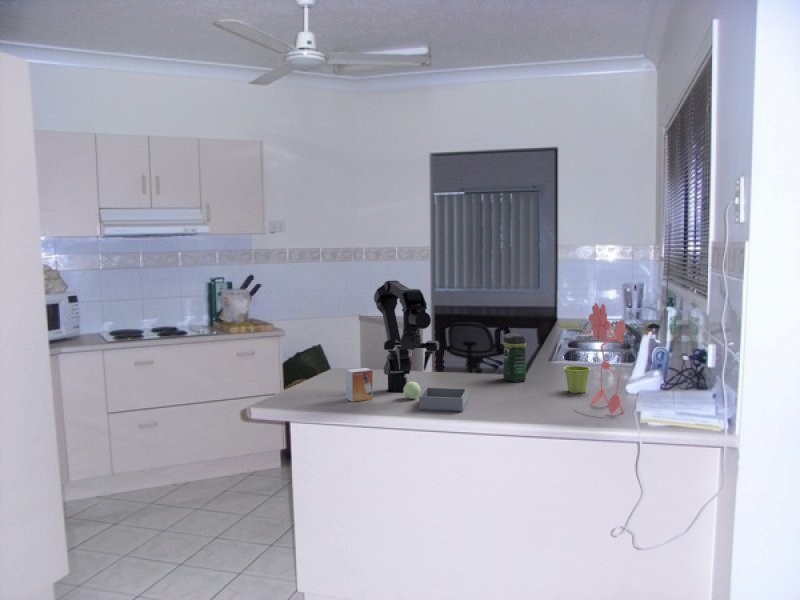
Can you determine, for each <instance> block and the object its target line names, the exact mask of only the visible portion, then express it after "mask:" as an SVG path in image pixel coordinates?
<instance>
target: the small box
mask: <svg viewBox="0 0 800 600" xmlns="http://www.w3.org/2000/svg"><path fill="white" fill-rule="evenodd" d="M373 377H374V375H373V369H369V368H367V367H364V368H355V369H345V386H346V387H345V398H346V400H348V401H350V402H352V403H353V402H361V401H372V400H373V399H374V398H373V397H374V396H373V394H374V393H373V392H374V390H373V388H374V387H373V386H374V385H373V383H374V382H373Z"/></svg>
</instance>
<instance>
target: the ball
mask: <svg viewBox="0 0 800 600" xmlns="http://www.w3.org/2000/svg"><path fill="white" fill-rule="evenodd" d="M403 391H404V392H403V394H404V396H405V397H406V398H408V399H410V400H414V399H417V398H419V396H420V395H421V392H422V391H421V386H420V385H419V383H418V382H416V381H409V382H408V381H407V384H406V385H405V386H404V390H403Z"/></svg>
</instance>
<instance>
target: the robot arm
mask: <svg viewBox="0 0 800 600" xmlns="http://www.w3.org/2000/svg"><path fill="white" fill-rule="evenodd" d="M383 283H384V284H382V285H381V286H380V287H378V288H377V289H376V291H375V293H374V295H373V301H374V303H375V306H376V309H377V310H378V312H380V313H381V314H382V319H383V324H384V328H385V329H384V330H385V334H386V338H387V340H386V341H384V343H383V350H385V351H387V352H388V353H387V355H386V362H385V364H384V366H383V373H384V375H386V376H387V389H386V392H393V393H404V391H403V390H404V386H405V385H406V384H407V383H408V377H407V375H410V372H411V368H412V361H411V358H410V354H409V350H410V351H413V350H415V349H425V351H424V360H423V361H424V362H423V370H424V371H426V370H427V367H428V364H429V361H430V358H431V355H432V354H434V353H435V352H437V351H439V349H440V342H439V341H438V340H427V341H426V342H422V336H421V333H420V332H421V329H422V330H425V329H427V328H428V327H430V325H431V322H432V318H431V315H430V314H429V313H428V312H426V311H427V309H428V308H427V305H428V304H427V301H426V300H425V299H426V298H425V297H424V294H423V292H422V290H421V289H419V288H410V287H407V286H406V285H404V284H402V283H400V281H399V280H397V279H396V280H386V281H384V282H383ZM398 301H399V303H400V305H401V307H402V309H401V311H402V312H403V314H402V315H403V317H402V319H403V320H402V321H403V322H402V323H403V325H402V326H403V328H402V336H401V335H400V330H399V326H398V320H397V316H396V307H397V306H398Z"/></svg>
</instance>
